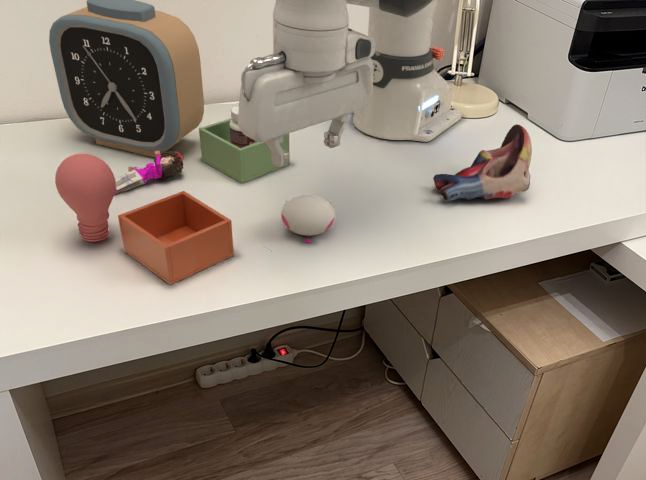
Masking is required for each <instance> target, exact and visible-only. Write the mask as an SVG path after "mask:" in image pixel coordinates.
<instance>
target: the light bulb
mask: <svg viewBox="0 0 646 480" xmlns="http://www.w3.org/2000/svg"><path fill="white" fill-rule="evenodd" d="M115 180H116V178H115V175H114V171H113V170H112V169H111V167H110V166H109V165H108V164H107V162H106V161H105V160H103V159H101V158H100V157H98V156H96V155H94V154H90V153H83V152H81V153H75V154H71V155H70V156H67V157H66V158H65V159H64V160H62V161H61V162H60V164H59V165H58V167H57V169H56V171H55V178H54V182H55V188H56V191H57V193H58V195H59V196H60V198H61V199H62V200H63V202H64V203H65V204H66V205H67V206H68V208H69V209H70V210H71V211H73V212H74V213H75V215H76V219H77V221H78V223H77V227H78V232H79V235H80V237H81V239H82V240H84V241H86V242H91V243H93V242H94V243H95V242H99V241H103V240H105V239H106V238H108V237H109V235H110V231H109V221H108V220H109V218H110V212H109V209H110V206H111V204H112V202H113V199H114V196H115V195H114V192H115V187H116V183H115Z"/></svg>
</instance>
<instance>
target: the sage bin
mask: <svg viewBox="0 0 646 480" xmlns="http://www.w3.org/2000/svg"><path fill="white" fill-rule="evenodd" d="M231 120H232V119H231V117H230V118H227V119H224V120H221V121H217V122H214V123H211V124H209V125H205V126H202V127H199V128H198V134H199V147H200V155H201V156H200V157H201V161H202V162H204V163H206V164H207V165H209V166H211V167H212V168H214V169H215V170H218V171H220V172H221V173H223V174H224V175H227V176H228V177H230V178H232V179H234V180H235V181H237V182H239V183H240V184H243V183H247V182H249V181H251V180H254V179H257V178H259V177H262V176H265V175H267V174H270V173H272V172H275V171H277V170H279V169H282V168H285V167H287V166H290V157H289V158H288V160H289V163H288V164H287V165H285V166H282V167H277V166H275V165H273V164H272V161H271V151H270V149H269V147H268V146H267V144H266V142H265V141H264V142H257V143H254V144H252V145H249V146H246V147H243V148H239V147H237V146H235V145H233V144H232V143H231V142H230V127H229V124H230V121H231ZM280 146H281V148H282V149H283V150H284V151H287V152H289V153H290V133H288V134H285V135H283V142H282V143H280Z"/></svg>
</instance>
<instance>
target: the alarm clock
mask: <svg viewBox="0 0 646 480" xmlns="http://www.w3.org/2000/svg"><path fill="white" fill-rule="evenodd" d="M85 2H86V6H85V7H82V8H81V9H77V10H74V11H72V12H70V13H67V14H64V15H62V16H60V17H58V18H57V19H56V20H55V21H53V22H52V24H51V27H50V29H49V36H48V43H49V49H50V50H49V51H50V54H51V59H52V64H53V68H54V72H55V73H54V74H55V77H56V81H57V87H58V90H59V95H60V99H61V102H62V105H63V107H64V108H63V109H64V110H65V112H66V114H67V116H68V118H69V120H70V121H71V123H73V125H74V126H75V127H76V128H77V129H78V130H80V132H81V133H82V134H85V135H87V136H90V137H92V138H94V139H95V144H96V145H101V146H105V147H109V148H114V149H118V150H122V151H127V152H129V153H130V152H131V153H135V154H137V155H143V156H147V157H152V158H154V159H156V155H155V152H154V151H158V150H159V151H160V155H161V154H163V152H168V151H170V149H171V148H173V147H174V146H175V145H177V144H178V143H180V142H181V141H182V139H183V138H185V137H186V136H187V135H189V134H190V133H191V132H193V131H194V130H195V129H197V128H198V127H199V126H200V124H201V123H202V121H203V118H204V113H205V99H204V88H203V74H202V63H201V54H200V49H199V45H198V43H197V40H196V37H195V35H194V33H193V32H192V30H191V29H190V27H189V26H188V25H187V24H186V23H185V22H184V21H183V20H182V19H181V18H179V17H177V16H175V15H172V14H169V13H166V12H164V11H162V10H156V8H155V6H154V5H153V4H151V3H147V2H143V1H139V0H86V1H85Z"/></svg>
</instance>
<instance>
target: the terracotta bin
mask: <svg viewBox="0 0 646 480" xmlns="http://www.w3.org/2000/svg"><path fill="white" fill-rule="evenodd" d="M117 218H118V224H119V225H118V226H119V230H120V234H121V240H122V245H123V250H124V252H125V253H126V254H127V255H128V256H130V257H131V258H133V259H134V260H136V262H138V263H139V264H141V265H142V266H144V267H146V268H147V270H149V271H150V272H152V274H154V275H156V276H157V277H158V278H160V279H161V280H163V281H164V282H165V283H167V284H168V285H169V286H171V285H173V284H176V283H178V282H180V281H183V280H184V279H186V278H189V277H191V276H193V275H195V274H197V273H200V272H202V271H203V270H206V269H208V268H211V267H212V266H214V265H217V264H219V263H221V262H223V261H225V260H227V259H230V258H231V257H234V239H233V228H232V227H233V225H232V224H233V223H232V219H230V218H229V217H227V216H226V215H224V214H222V213H221V212H219V211H217V210H216V209H214V208H212V207H211V206H209V205H208V204H206V203H204V202H203V201H201V200H199V198H196V197H194V196H193V195H192V194H190V193H188V192H186V191H185V190H182V191H179V192H177V193H174V194H171V195H169V196H166V197H163V198H161V199H158V200H155V201H153V202H150V203H147V204H145V205H142V206H140V207H136V208H134V209H131V210H128V211H126V212H123V213H121V214H118V215H117Z"/></svg>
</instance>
